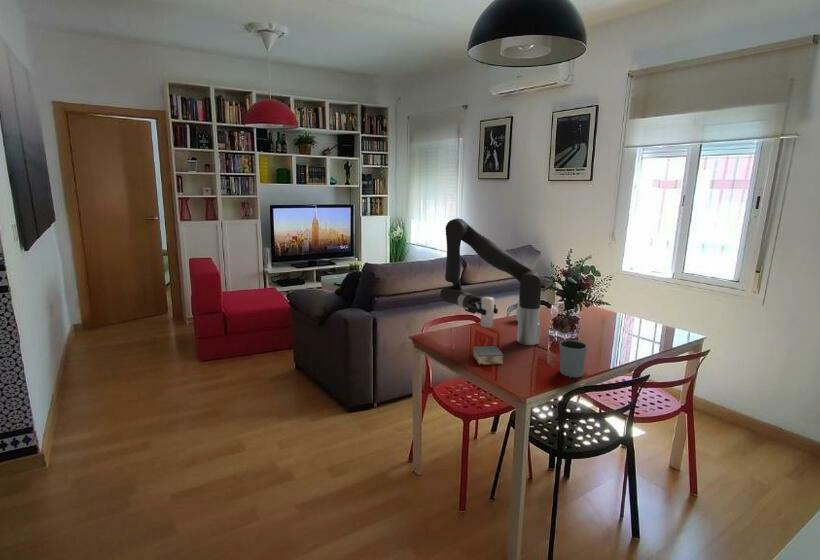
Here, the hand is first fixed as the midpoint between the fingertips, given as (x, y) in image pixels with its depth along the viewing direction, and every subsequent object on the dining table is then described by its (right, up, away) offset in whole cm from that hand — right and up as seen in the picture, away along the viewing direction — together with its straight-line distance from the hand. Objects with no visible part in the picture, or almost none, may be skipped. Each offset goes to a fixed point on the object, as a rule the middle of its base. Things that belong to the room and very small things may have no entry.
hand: (491, 312), depth 189 cm
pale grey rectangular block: (-1, -6, +4) cm, 7 cm away
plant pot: (+29, -23, -11) cm, 39 cm away
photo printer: (+28, -9, +53) cm, 60 cm away
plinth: (-1, -20, +2) cm, 20 cm away
